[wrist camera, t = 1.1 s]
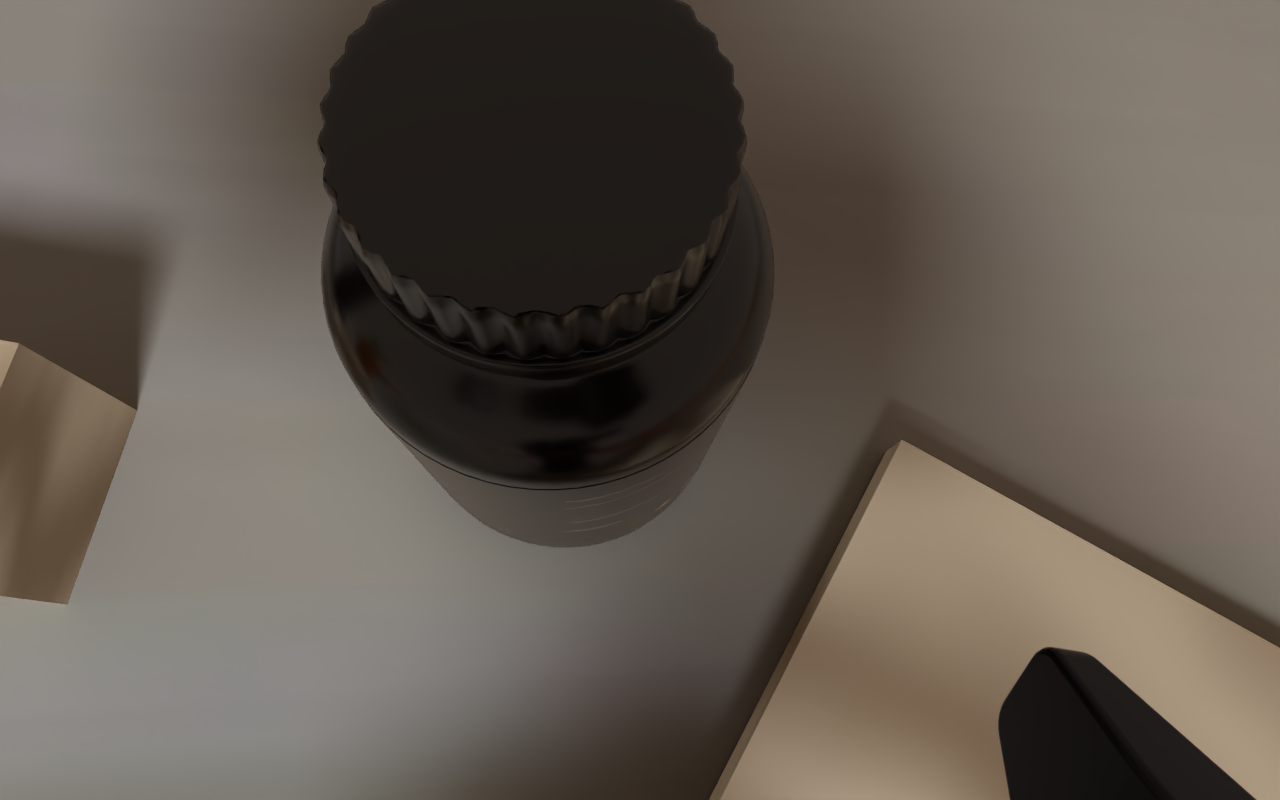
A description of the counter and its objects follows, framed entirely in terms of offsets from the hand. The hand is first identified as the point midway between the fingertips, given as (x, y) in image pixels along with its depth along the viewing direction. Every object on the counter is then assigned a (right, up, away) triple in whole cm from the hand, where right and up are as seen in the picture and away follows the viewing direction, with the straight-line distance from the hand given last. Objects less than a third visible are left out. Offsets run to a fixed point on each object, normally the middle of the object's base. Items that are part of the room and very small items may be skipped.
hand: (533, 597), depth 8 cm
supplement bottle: (-1, +1, +14) cm, 14 cm away
